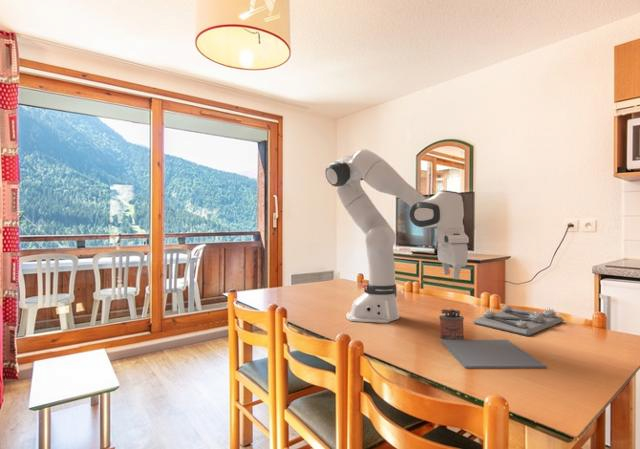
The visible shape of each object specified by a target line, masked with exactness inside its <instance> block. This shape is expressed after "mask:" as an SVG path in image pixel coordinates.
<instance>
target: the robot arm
mask: <svg viewBox="0 0 640 449" xmlns="http://www.w3.org/2000/svg"><path fill="white" fill-rule="evenodd" d="M325 178H326V180H327V182H328V183H329V184H330V185H331V186H333V187H335V188H336V192H337V195H338V198H339V199H340V201H341V204H342V205H343V206H344V208H345V210H346V211H347V212H348V215H350V218H351V219H352V220H353V222H354V223H355V224H356V226H358V227H359V228H360V230H361V231H362V232H363V233H364V235H365V245H366V256H367V262H368V263H367V264H368V283H363V284H362V288H363V290H364V293H362V294H360V296H358V297H356V299H354V300H353V302H352V304H351V308H350V309H351V310H350V311H347V312H346V318H347V320H349V321H350V322H359V323H360V322H361V323H381V324H382V323H383V324H388V323H390V322H392V321H395V320H399V319H400V314H399V310H398V309H399V308H398V306H397V303H398V302H397V294H398V293H397V292H398V289H397V288H398V287H397V284H396V264H395V263H396V262H395V257H394V256H395V255H394V246H395V244H396V242H397V235H396V231H395V230H394V229H393V228H392V226H391V225H390V224H389V222H388V221H387V220H386V219H385V217H384V216H383V214H382V213H381V212H380V211H379V210H378V208H377V207H376V206H375V204H374V203H373V201H372V199H370V197H369V196H368V194H367V193H366V191H365V190H364V189H363V187H362V185H361V181H364V182H365V183H366V184H367V185H368V186H369V187H371V188H372V189H374V190H376V191H378V192H380V193H384V194H387V195H391V196H394V197H396V198H398V199H400V200H402V201H403V202H404V203H406V204H407V205H408V206H410V209H409V214H408V215H409V220H410V222H411V223H412V225H415V226H416V227H418V228H422V229H423V228H424V229H429V228H431V229H436V237H437V238H436V240H437V260H438V261H439V262H441V266H442V269H443V275H445V276H450V275H451V269H450V266H452V269H453V272H452V279H454V280H459V279H460V274H461V269H462V268H464V267H466V266H467V263H468V257H469V256H468V252H469V251H468V248H469V247H468V244H469V242H470V239H469V236H468V235H467V234H466V233H465V226H464V222H463V221H464V220H463V219H464V217H465V215H464V214H465V211H464V201H463V197H462V195H461V193H459V192H457V191H451V190H445V189H444V190H439V191H437V192H436V193H435V194H434V195H433V196H430V197H429V198H427V197H426V196H425V195H423V194H422V193H420V192H419V191H418V190H417V189H415V188H414V187H413V186H412V185H410V184H409V183H408V182H407V181H406V180H405V179H404V178H403V177H402V176H401V175H400V174H399V173H398V172H397V171H396V170H395V169H394V167H393V166H391V165H390V164H389V163H388V162H387V161H386V160H385V159H383V158H382V157H381V156H379V155H378V154H377V153H375V152H372V151H371V150H369V149H365V148H362V149H360V150H358V151H357V152H354V153H351V154H347V155H345V156H342V157H341V158H338V159H337V160H333V161H331V163H329V164H328V165H327V166H326V168H325Z"/></svg>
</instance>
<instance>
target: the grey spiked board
mask: <svg viewBox="0 0 640 449" xmlns="http://www.w3.org/2000/svg"><path fill="white" fill-rule="evenodd" d="M483 312H484V313H482V316H481V317H477V318H475V319H474V320H472V322H473V323H474V324H475V325H477V326H482V327H487V328H491V329H496V330H499V331H503V332H508V333H512V334H517V335H521V336H525V337H529V336H531V335H534V334H536V333H538V332H541V331H543V330H546V329H548V328H551V327H554V326H555V325H558V324H560V323H562V322H564V321H565V319H564V318H562V317H561V316H559V315H558V314H557V313H558V312H557V311H556V310H554V308H550V307H548V308H546V309H545V308H544V309H542V310H540V311H538V310H534V309H533V311H530V310H524V309H519V308H514V307H511V305H510V304H505V305H504V304H503V306H502V305H501V307H500V311H497V312H496V311H495V310H493V309H489V308H488V310H486V309H485V311H483Z"/></svg>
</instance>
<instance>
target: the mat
mask: <svg viewBox="0 0 640 449" xmlns="http://www.w3.org/2000/svg"><path fill="white" fill-rule="evenodd" d="M440 343H441V344H442V345H443V346H444V347H445V348H446V349H447V350H448V351H449V352H450V354H452V355H453V357H454V358H455V359H456V360H457V361H458V362H459V363H460V364H461V366H463V368H464V369H547V365H546V364H544V363H543V362H541V361H540V360H538V359H537V358H535V357H534V356H532V355H531V354H530V353H528V352H526V351H525V350H523V349H521V348H520V347H519V346H517V345H516V344H514V343H513V342H511V341H510V340H509V339H459V340H451V339H440Z"/></svg>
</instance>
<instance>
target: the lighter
mask: <svg viewBox="0 0 640 449" xmlns="http://www.w3.org/2000/svg"><path fill="white" fill-rule="evenodd" d="M441 314H443V315H439V324H440V325H439V331H440V334H439V338H440V340H465V335H464V319H465V316H463V315H461V310H460V309H454V308H450V309H447V308H446V309H442V310H441Z"/></svg>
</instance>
